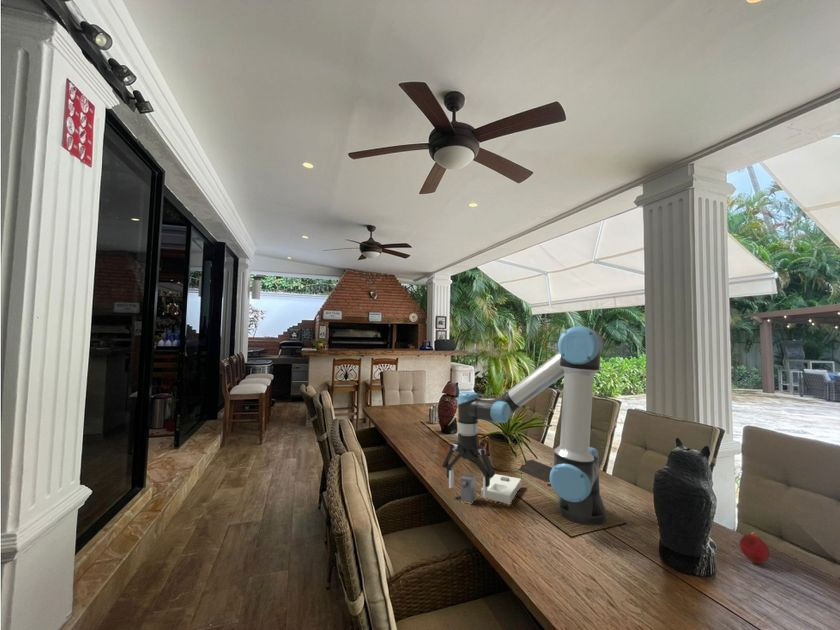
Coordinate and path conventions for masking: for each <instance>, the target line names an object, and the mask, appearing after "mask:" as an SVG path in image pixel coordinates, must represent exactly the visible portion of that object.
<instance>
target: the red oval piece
mask: <svg viewBox="0 0 840 630" xmlns="http://www.w3.org/2000/svg"><path fill="white" fill-rule="evenodd" d="M739 548H740V550H741V552H742V554H743V555H744V557H746V558H747V559H748V560H749V561H751V562H752V563H753V564H756V565H758V564H761V563H765V562H767V561H768V560H769V558H770V554H771V552H770V549H769V547H768V546H767V544H766V543H765V542H764V541H763V540H762V539H761V538H760V537H758V533H756V532H755V531H751V532H750V533H749V534H746V535H744V536H743V537H741V539H740V540H739Z"/></svg>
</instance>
